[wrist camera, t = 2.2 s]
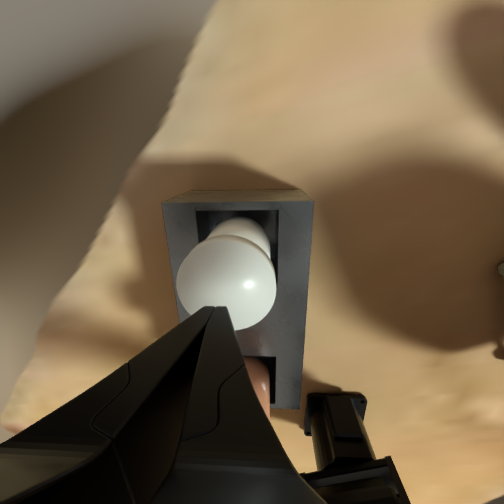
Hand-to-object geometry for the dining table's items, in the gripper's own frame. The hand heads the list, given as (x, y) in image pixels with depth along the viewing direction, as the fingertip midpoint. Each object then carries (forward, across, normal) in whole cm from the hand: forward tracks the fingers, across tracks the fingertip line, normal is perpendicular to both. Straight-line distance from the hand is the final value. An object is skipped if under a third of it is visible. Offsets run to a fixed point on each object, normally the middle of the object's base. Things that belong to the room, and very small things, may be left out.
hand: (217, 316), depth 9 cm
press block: (+13, 0, +6) cm, 14 cm away
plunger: (+8, 0, 0) cm, 8 cm away
